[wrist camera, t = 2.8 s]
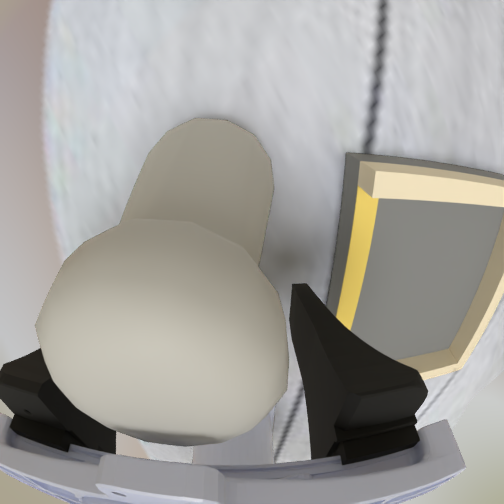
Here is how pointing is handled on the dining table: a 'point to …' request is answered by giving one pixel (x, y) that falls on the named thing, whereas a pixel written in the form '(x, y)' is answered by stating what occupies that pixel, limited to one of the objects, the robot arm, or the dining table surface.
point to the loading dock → (418, 258)
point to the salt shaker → (175, 298)
